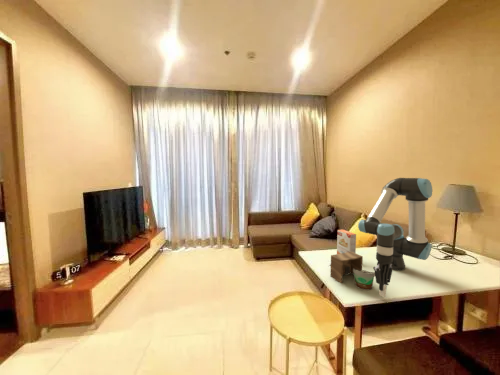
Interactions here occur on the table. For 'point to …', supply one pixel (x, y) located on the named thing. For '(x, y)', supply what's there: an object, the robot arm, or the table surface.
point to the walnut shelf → (345, 264)
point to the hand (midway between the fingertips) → (382, 295)
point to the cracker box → (346, 241)
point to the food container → (364, 279)
